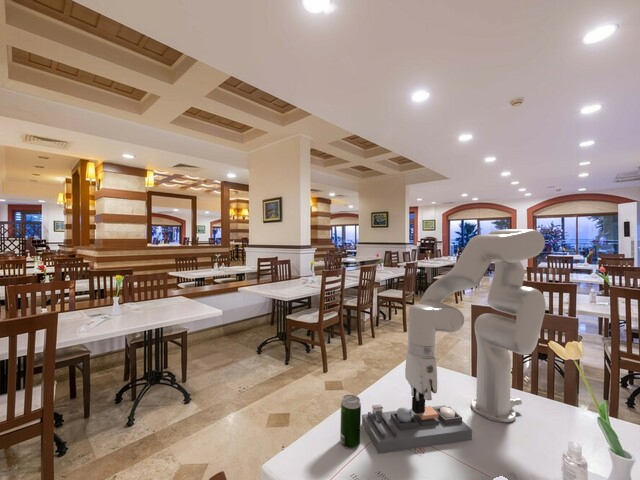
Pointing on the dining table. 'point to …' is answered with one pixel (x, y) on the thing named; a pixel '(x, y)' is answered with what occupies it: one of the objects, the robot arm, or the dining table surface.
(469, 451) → the dining table surface
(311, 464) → the dining table surface
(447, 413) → the white dome button
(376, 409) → the slide paddle
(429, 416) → the rocker switch
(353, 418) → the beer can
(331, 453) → the dining table surface
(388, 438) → the switch panel
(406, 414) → the grey dome
